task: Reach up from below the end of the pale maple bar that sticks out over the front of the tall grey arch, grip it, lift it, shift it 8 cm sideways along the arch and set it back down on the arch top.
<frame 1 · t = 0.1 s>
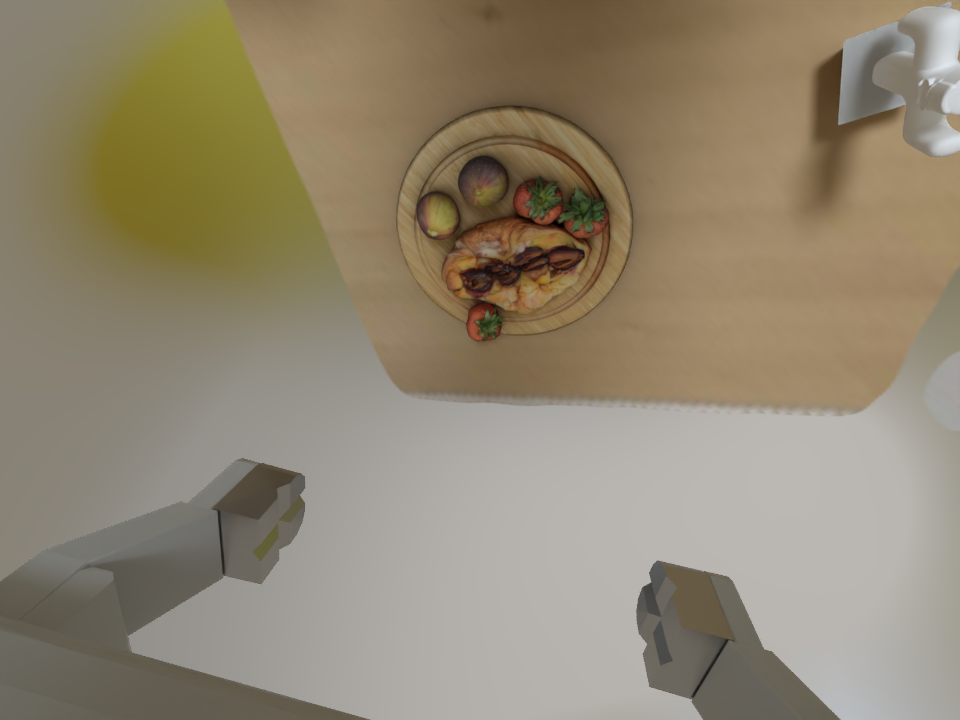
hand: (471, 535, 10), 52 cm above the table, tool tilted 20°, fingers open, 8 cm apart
figurine: (870, 62, 42), on the table
wooden plate with food: (510, 234, 62), on the table
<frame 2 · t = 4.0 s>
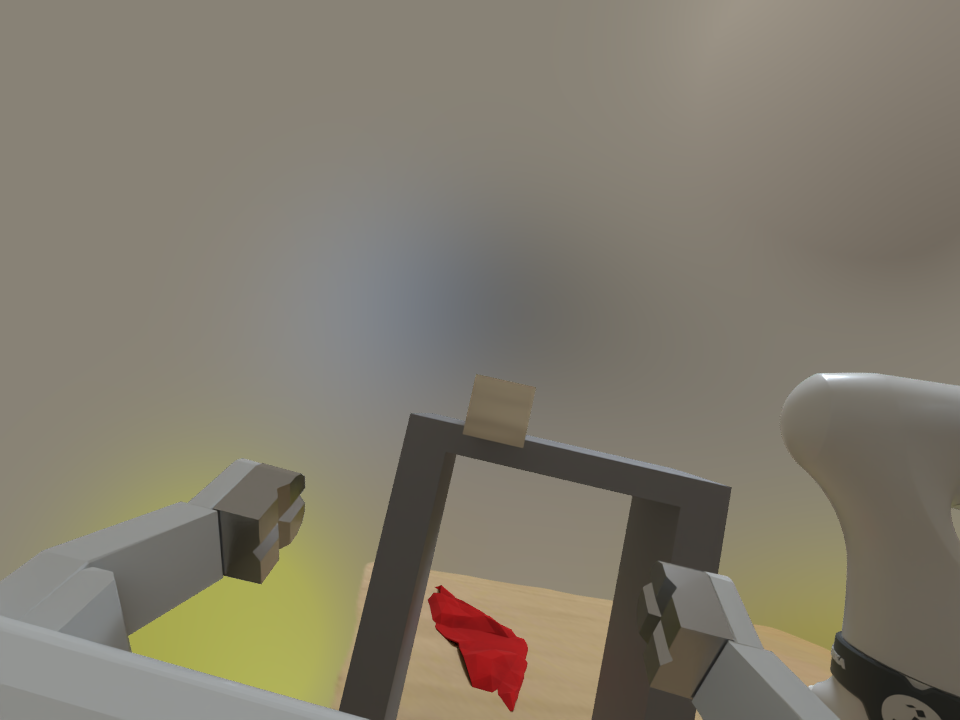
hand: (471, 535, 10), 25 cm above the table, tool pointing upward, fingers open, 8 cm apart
cloth: (474, 645, 54), on the table
maple bar: (495, 431, 33), point 26 cm above the table, touching grey arch
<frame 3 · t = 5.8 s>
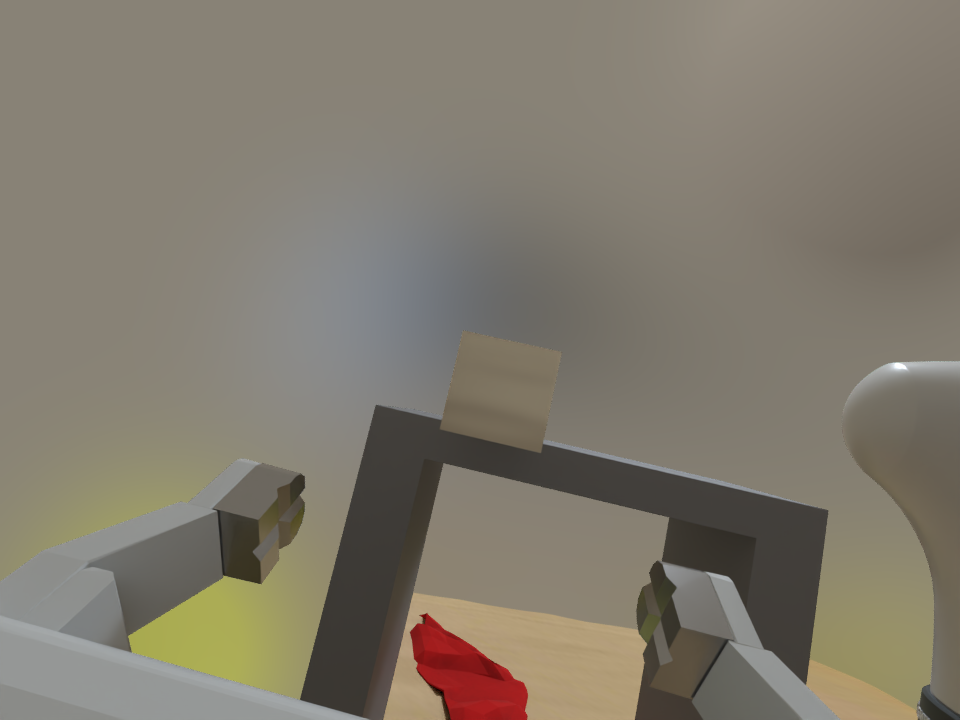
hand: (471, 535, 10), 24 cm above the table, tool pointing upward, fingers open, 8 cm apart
cloth: (463, 691, 45), on the table
maple bar: (493, 430, 25), point 26 cm above the table, touching grey arch
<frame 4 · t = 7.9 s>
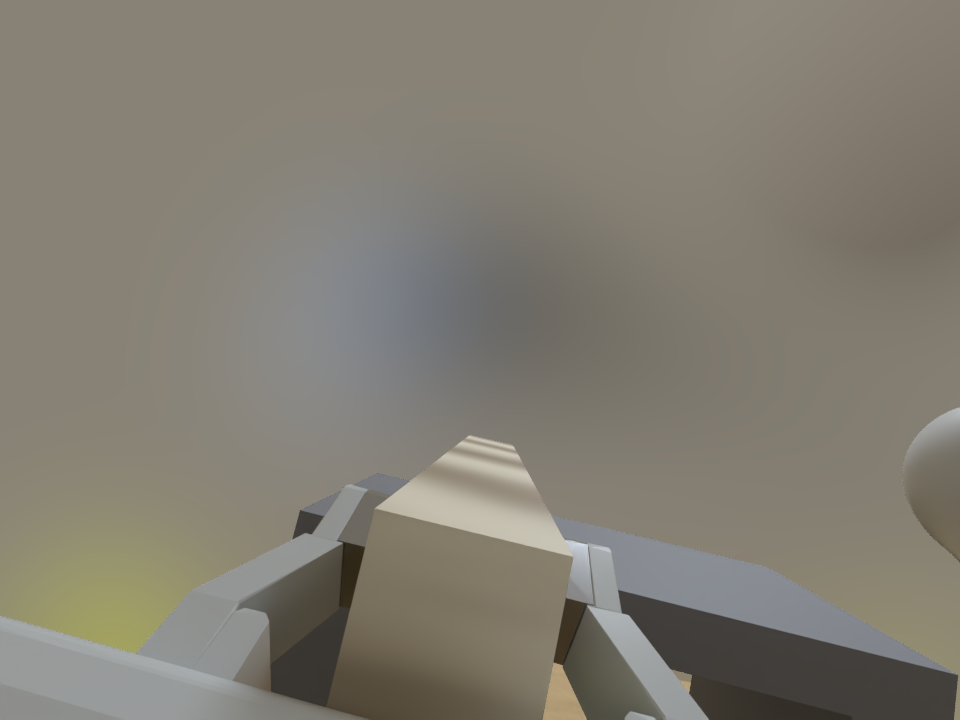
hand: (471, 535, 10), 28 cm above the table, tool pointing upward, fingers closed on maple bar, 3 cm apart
maple bar: (472, 529, 18), point 26 cm above the table, touching grey arch, gripper
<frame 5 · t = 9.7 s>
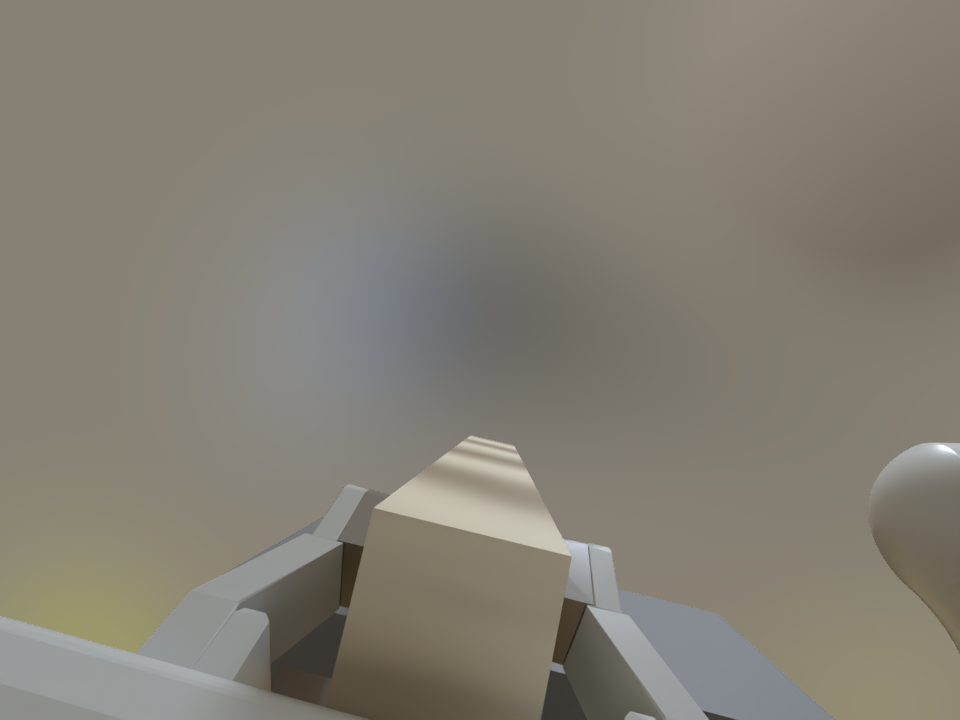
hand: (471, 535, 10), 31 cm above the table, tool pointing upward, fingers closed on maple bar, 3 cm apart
maple bar: (472, 529, 18), point 29 cm above the table, touching gripper
when the fingers open (29 cm above the table, at t = 11.7 s): maple bar drops 1 cm, resting on grey arch.
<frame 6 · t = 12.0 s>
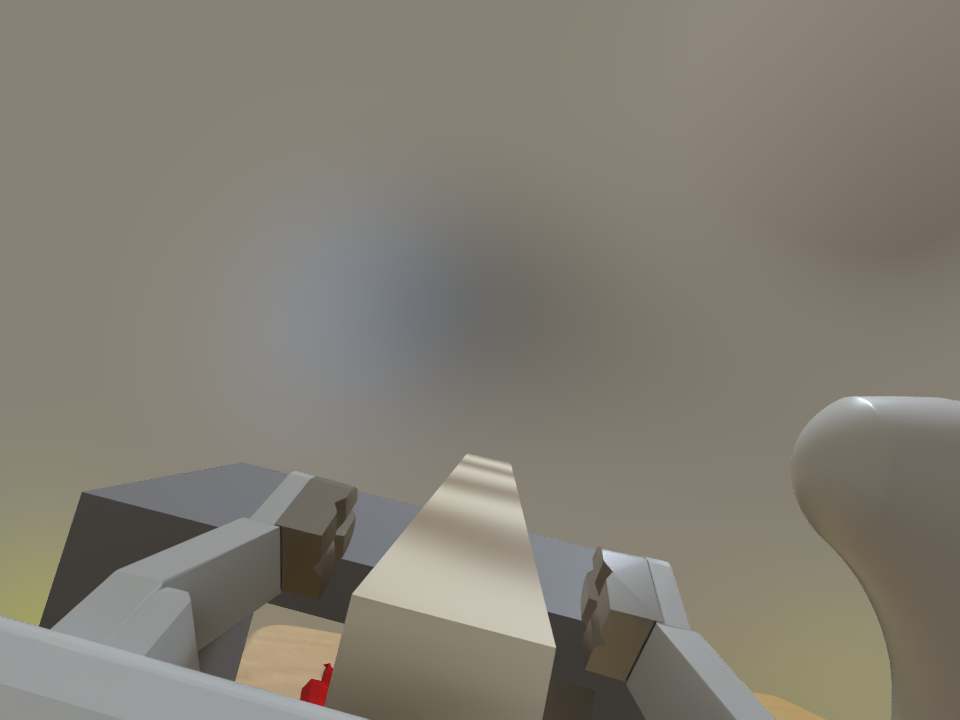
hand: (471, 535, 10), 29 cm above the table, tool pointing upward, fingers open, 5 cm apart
maple bar: (466, 560, 18), point 26 cm above the table, touching grey arch
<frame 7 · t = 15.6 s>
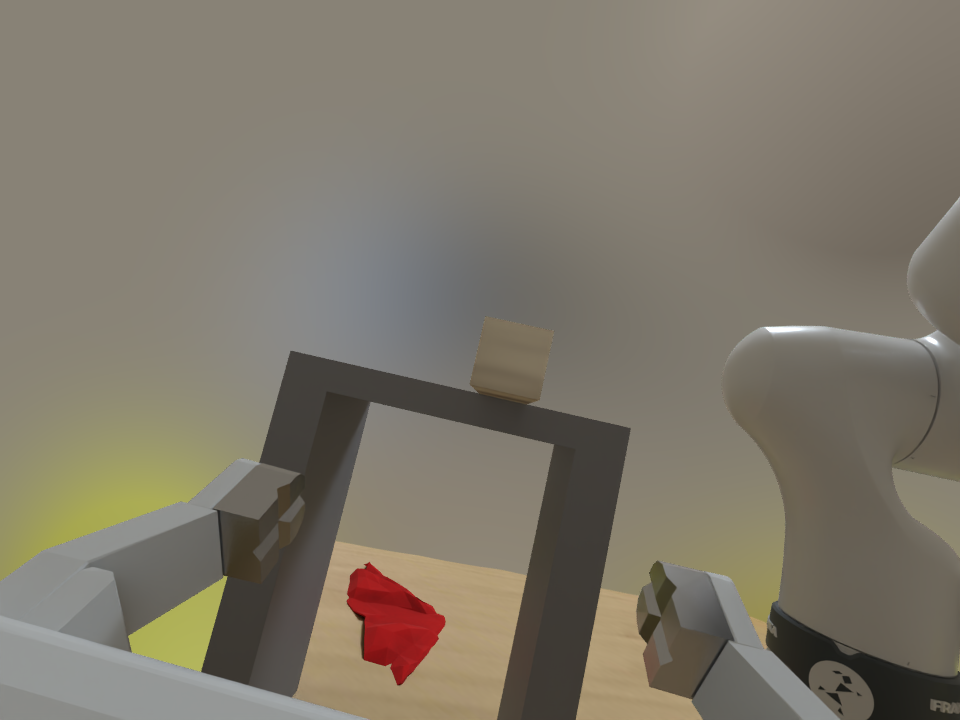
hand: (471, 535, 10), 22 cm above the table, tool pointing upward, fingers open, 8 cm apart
cloth: (387, 620, 51), on the table
maple bar: (502, 400, 30), point 26 cm above the table, touching grey arch
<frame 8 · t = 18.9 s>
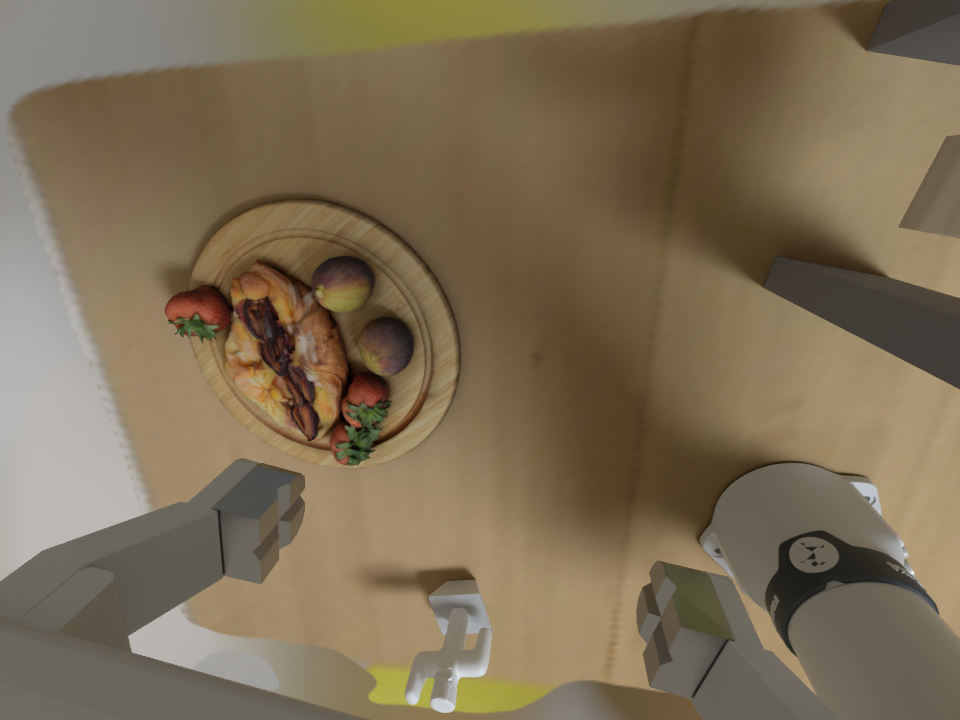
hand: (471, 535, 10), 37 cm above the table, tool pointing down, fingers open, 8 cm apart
grey arch: (878, 172, 37), on the table
figurine: (465, 590, 63), on the table
wooden plate with food: (327, 343, 52), on the table
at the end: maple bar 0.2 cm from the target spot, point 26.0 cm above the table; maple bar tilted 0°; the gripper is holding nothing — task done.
